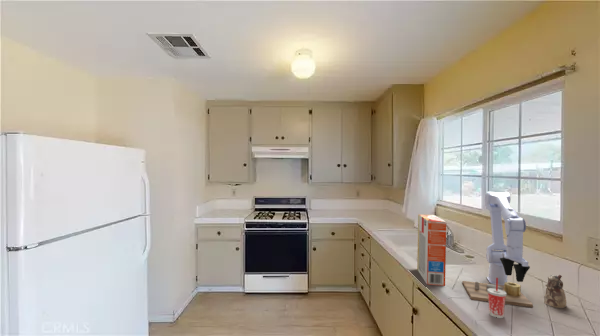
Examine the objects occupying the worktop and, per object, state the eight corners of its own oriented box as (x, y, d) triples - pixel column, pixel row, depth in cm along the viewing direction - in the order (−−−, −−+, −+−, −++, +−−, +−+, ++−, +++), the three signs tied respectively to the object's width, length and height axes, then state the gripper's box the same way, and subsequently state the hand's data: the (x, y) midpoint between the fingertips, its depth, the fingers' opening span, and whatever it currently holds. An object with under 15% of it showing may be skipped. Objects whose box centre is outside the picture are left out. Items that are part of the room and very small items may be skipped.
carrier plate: (462, 283, 151) (462, 273, 151) (515, 289, 144) (515, 279, 144) (471, 299, 132) (471, 288, 132) (532, 307, 125) (533, 295, 125)
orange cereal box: (445, 285, 147) (446, 221, 147) (427, 284, 148) (428, 221, 148) (432, 270, 169) (433, 214, 170) (417, 269, 171) (418, 214, 171)
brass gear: (502, 290, 139) (502, 281, 139) (517, 292, 138) (517, 282, 138) (506, 295, 134) (506, 285, 134) (522, 297, 132) (522, 287, 132)
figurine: (539, 300, 132) (540, 271, 132) (556, 300, 132) (557, 272, 132) (552, 307, 125) (553, 277, 125) (570, 308, 125) (571, 278, 125)
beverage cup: (499, 320, 113) (499, 281, 113) (483, 313, 119) (483, 276, 119) (509, 317, 116) (510, 279, 116) (493, 310, 121) (494, 274, 122)
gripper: (495, 242, 141) (494, 272, 141) (515, 250, 126) (515, 284, 126) (511, 242, 140) (510, 272, 141) (533, 251, 126) (533, 284, 126)
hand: (513, 278), depth 133 cm, fingers open, 7 cm apart
